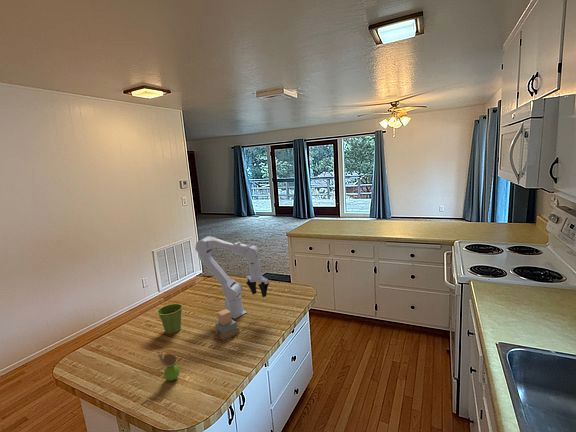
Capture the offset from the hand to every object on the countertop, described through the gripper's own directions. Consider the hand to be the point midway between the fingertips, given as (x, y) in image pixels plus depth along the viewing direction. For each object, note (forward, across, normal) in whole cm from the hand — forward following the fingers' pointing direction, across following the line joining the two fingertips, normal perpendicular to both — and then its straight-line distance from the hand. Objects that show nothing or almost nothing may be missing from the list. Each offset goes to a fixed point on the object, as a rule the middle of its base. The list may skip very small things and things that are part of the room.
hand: (259, 295), depth 156 cm
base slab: (+10, -1, -22) cm, 24 cm away
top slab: (+7, -1, -22) cm, 23 cm away
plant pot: (+8, -27, -35) cm, 45 cm away
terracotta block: (+4, -1, -22) cm, 22 cm away
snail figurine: (+10, +7, -54) cm, 55 cm away
